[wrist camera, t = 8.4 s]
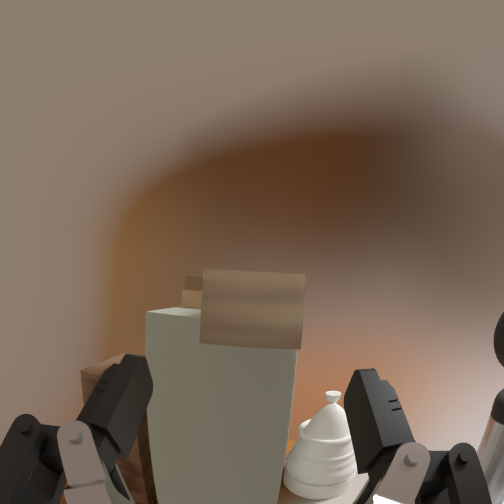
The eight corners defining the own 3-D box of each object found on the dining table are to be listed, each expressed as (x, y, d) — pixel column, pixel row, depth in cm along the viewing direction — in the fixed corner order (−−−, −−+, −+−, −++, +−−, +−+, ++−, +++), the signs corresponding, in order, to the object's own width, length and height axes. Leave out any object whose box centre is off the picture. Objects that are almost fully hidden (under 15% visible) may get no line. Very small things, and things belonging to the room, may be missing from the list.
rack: (263, 492, 31) (282, 284, 36) (265, 558, 15) (301, 277, 21) (191, 485, 31) (193, 279, 37) (168, 546, 16) (149, 268, 21)
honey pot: (286, 460, 42) (296, 383, 45) (349, 461, 39) (365, 384, 42) (278, 497, 30) (291, 411, 32) (356, 498, 27) (381, 411, 30)
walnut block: (171, 462, 38) (168, 360, 41) (148, 505, 24) (133, 384, 27) (133, 453, 38) (125, 352, 41) (102, 489, 24) (80, 370, 27)
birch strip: (239, 308, 36) (240, 286, 36) (269, 310, 36) (270, 287, 36) (199, 343, 10) (203, 268, 11) (300, 349, 10) (305, 274, 11)
